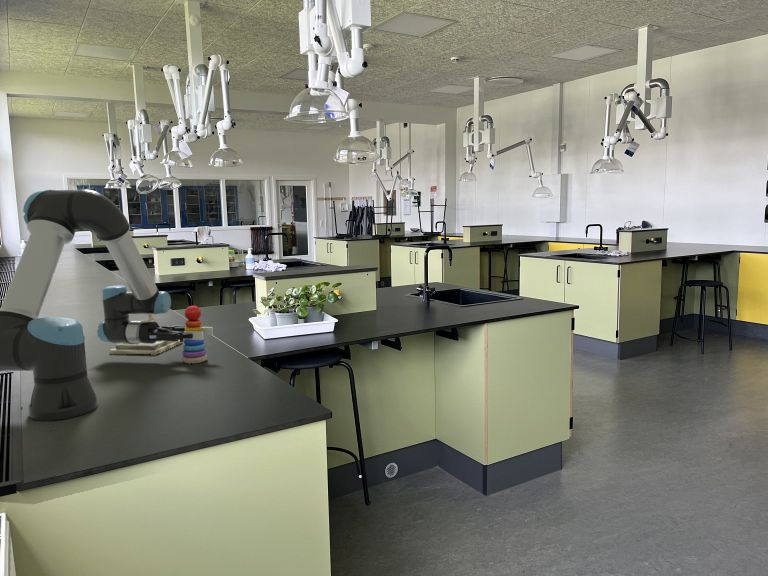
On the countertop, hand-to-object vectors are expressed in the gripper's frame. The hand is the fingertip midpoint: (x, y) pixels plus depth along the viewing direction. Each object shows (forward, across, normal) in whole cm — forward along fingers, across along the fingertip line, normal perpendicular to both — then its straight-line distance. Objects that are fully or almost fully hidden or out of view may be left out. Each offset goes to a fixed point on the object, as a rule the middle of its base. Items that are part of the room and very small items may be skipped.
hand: (207, 333), depth 185 cm
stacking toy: (-5, 0, -10) cm, 11 cm away
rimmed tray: (-32, -15, -10) cm, 37 cm away
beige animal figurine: (-55, -46, -10) cm, 72 cm away
